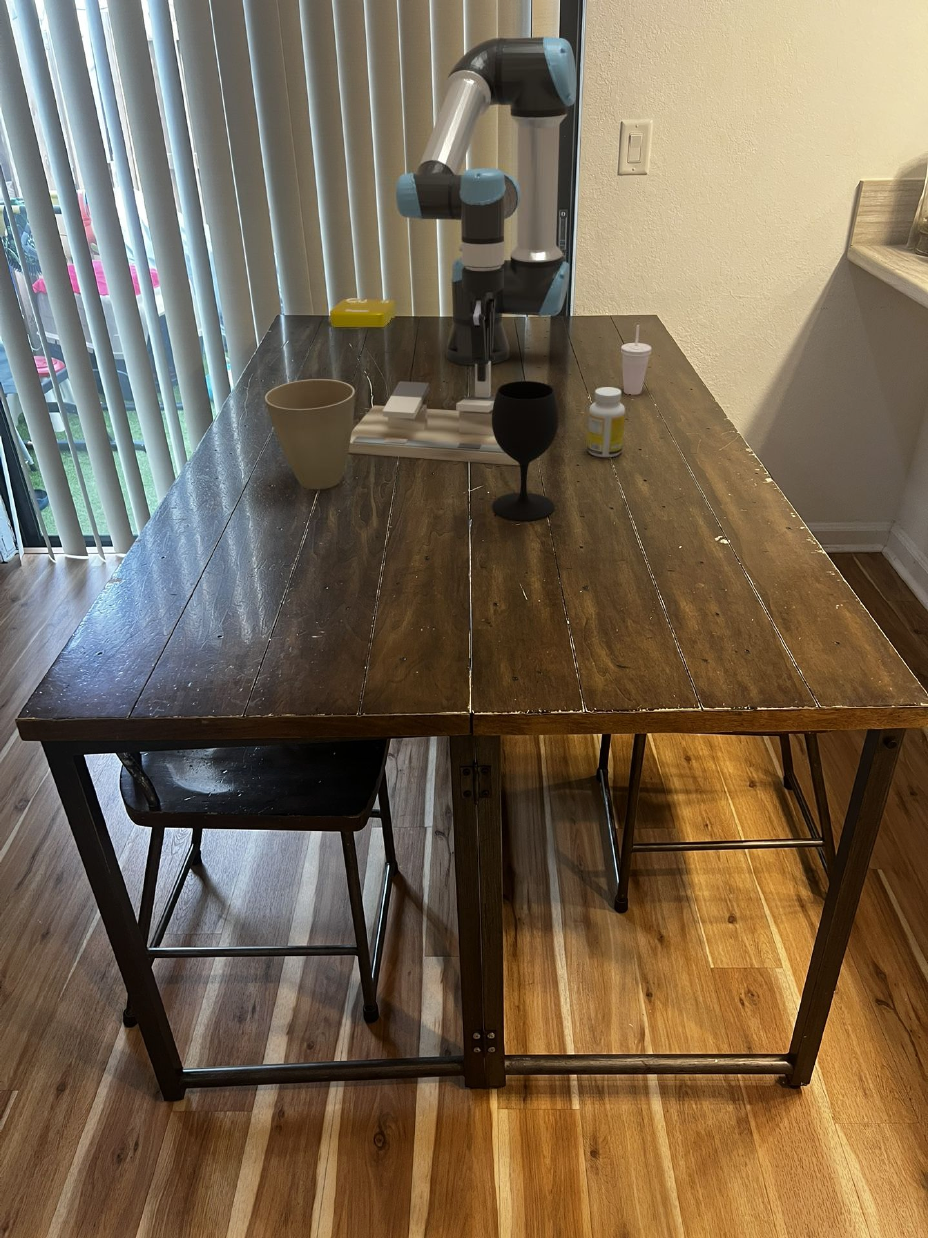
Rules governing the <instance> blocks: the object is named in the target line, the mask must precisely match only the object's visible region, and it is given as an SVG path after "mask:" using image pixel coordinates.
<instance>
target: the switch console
mask: <svg viewBox="0 0 928 1238" xmlns="http://www.w3.org/2000/svg"><path fill="white" fill-rule="evenodd" d="M385 406H386V405H373V406H372V407H371V408H370V409H369V411H368V412H367V413H366V414H365V415H364V416H363V417H362V419H361V420H360V421H359V422H358V423H357V424H356V425H355V427H354V428H352V434H351V440H350V446H349V451H348V454H359V455H360V454H361V455H373V456H388V457H399V458H400V457H401V458H413V459H425V460H426V459H428V460H439V461H440V460H441V461H455V462H470V463H482V464H483V463H484V464H495V465H497V464H498V465H509V466H513V465H514V466H520V465H519V463H518V462H517V461H515V460H514V459H512V458H511V457H510V456H508V455H507V454H506V453H505V452H504V451H503V450H502V449H501V448H500V446H499V445H498V443H497V441H496V439H495V437H494V433H493V429H492V410H491V411H490V412H474V411H458V410H454V409H453V410H451V409H450V410H449V409H439V408H438V409H437V408H435V409H433V408H428V405H427V404H423V405H422V406H421V407H420V408H419V410H418V412H417V414H416V416H415V418H414V419H409V418H393V417H383V409H384V407H385Z"/></svg>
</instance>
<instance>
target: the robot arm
mask: <svg viewBox="0 0 928 1238" xmlns="http://www.w3.org/2000/svg"><path fill="white" fill-rule="evenodd" d="M576 72H577V71H576V62H575V56H574V52H573V49H572V45H571V44H570V42H569V41H568V40H567V39H565V38H562V37H552V36H551V37H550V36H538V37H537V36H536V37H533V36H532V37H511V38H507V37H506V38H503V37H495V38H490V39H487V40H484V41H483V42H481V43H478V44H477V45H475V46H474V47H472V48H471V49H470V50H468V51H467V52H466V53H465V54H463V56H462V57H461V58H460V59H459V60H458V61H457V62H456V63H455V65H453V67H452V69H451V70H450V72H449V74H448V76H447V79H446V82H445V83H444V89H443V94H444V101H443V103H442V105H441V109H440V112H439V114H438V117H437V119H436V121H435V125H434V127H433V128H432V129H433V130H432V132H431V135H430V138H429V140H428V142H427V145H426V147H425V150H424V152H423V156H422V158H421V161H420V163H419V166H418V167H417V170H416V172H415V173H414V172H410V173H403V174H401V175H400V176H399V177H398V179H397V182H396V186H395V187H396V189H395V201H396V205H397V210H398V212H399V214H400V215H401V216H402V217H404V218H407V219H418V220H452V221H453V220H456V221H460V222H461V224H460V226H461V227H460V228H461V229H460V230H461V231H460V232H461V245H459V246H458V249H457V250H458V251H459V252H461V253H462V254H461V256H459V257H458V258H456V259H455V260H454V262H453V263H452V267H451V270H452V271H451V279H450V280H451V295H452V296H451V298H452V300H451V302H452V305H451V306H452V327H451V329H450V333H449V337H448V340H447V344H446V346H445V347H446V348H445V350H446V352H445V354H446V359H447V360H448V361H450V362H452V363H454V364H459V365H464V366H474V396H475V397H484V398H489V397H491V396H492V390H491V389H492V388H491V387H492V385H491V384H492V377H491V376H492V373H491V372H492V369H491V368H492V365H495V364H496V365H497V364H499V363H503V362H504V361H506V360H508V359H509V358H510V345H509V342H508V338H507V335H506V332H505V328H504V325H503V315H519V316H520V315H521V316H534V317H535V316H537V317H539V318H541V317H555V316H557V315H558V314H559V313H560V312H561V310H562V309H563V306H564V303H565V299H566V295H567V291H568V286H569V280H570V267H571V266H570V263H568V262H567V261H563V259H564V258H563V251H562V250H561V249H560V248H559V246H557V227H558V224H557V223H558V222H557V221H558V220H557V219H558V217H557V216H558V189H559V188H558V185H559V157H560V156H559V155H560V154H559V153H560V152H559V151H560V150H559V149H560V124H561V123H562V122H563V120H564V119H565V118H566V117H567V116H568V107H570V106H573V105H574V104H575V102H576V98H577V97H576V96H577V91H576V90H577V73H576ZM499 105H500V106H510V117H511V119H512V120H513V121H514V122H515V123H516V124H517V180H516V179H515V178H514V177H513V176H511V175H510V174H507V173H504V172H503V171H502V170H500V169H498V168H486V167H485V168H483V167H481V168H480V167H479V168H471V169H466V170H464V171H463V172H462V174H460V172H461V169H462V166H463V165H464V161H465V158H466V156H467V152H468V151H469V147H470V145H471V142H472V139H473V137H474V134H475V132H476V129H477V126H478V123H479V120H480V118H481V116H483V115H484V114H486V112H487V111H488V109H489V107H491V106H499ZM516 211H517V221H516V222H517V224H516V225H517V229H516V231H517V232H516V233H517V235H516V236H517V237H516V238H517V240H516V241H517V242H516V243H517V244H516V247H515V248H513V250H512V251H511V252H510V259H505V220H506V219H509V217H510V218H511V216H512V215H513V214H514V213H515V212H516Z"/></svg>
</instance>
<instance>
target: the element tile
mask: <svg viewBox="0 0 928 1238" xmlns="http://www.w3.org/2000/svg"><path fill="white" fill-rule="evenodd" d="M395 307H396V304H395V301H394V300H393V299H369V298H368V299H367V298H355V297H351V298H344V299H342V300H341V301H339V303H338V304H337V305H335V306H334V307H333V308H332V309H331V310H330V311H329V318H330V327H331V326H334V327H384V326H386V325H387V324H388V323H389V322H390V320H391V318H393V319H395V317H396V308H395ZM391 321H392V320H391ZM390 323H391V322H390ZM390 323H389V324H390ZM389 324H388V325H389ZM388 325H387V326H388ZM387 326H386V327H387ZM334 327H333V328H334Z"/></svg>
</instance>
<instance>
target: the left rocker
mask: <svg viewBox="0 0 928 1238" xmlns="http://www.w3.org/2000/svg"><path fill="white" fill-rule="evenodd" d="M429 391H430V382H417V381H399V382H398V383H397V385H396V386H395V388H394V390H393V392H392V394H391V395H390V398H389V399H388V400H387V402H386V404H385V405H384V406H385V407H384V409H383V417H393V418H409V419H414V418H415V416H416V414H417V412H418V410H419V408H420V407H421V406H422V405H424V404H423V402H424V400H425V398H426V396H427V394H428V393H429Z"/></svg>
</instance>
